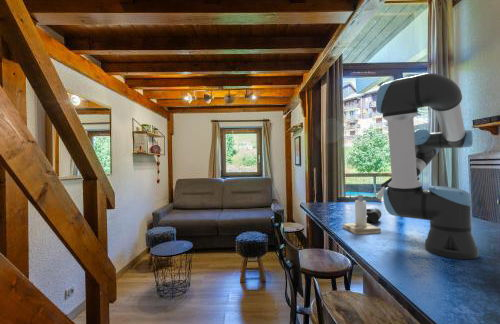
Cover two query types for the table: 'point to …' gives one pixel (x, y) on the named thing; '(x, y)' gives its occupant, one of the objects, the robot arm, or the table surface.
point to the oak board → (361, 228)
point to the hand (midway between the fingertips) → (386, 199)
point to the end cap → (373, 215)
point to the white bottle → (360, 212)
